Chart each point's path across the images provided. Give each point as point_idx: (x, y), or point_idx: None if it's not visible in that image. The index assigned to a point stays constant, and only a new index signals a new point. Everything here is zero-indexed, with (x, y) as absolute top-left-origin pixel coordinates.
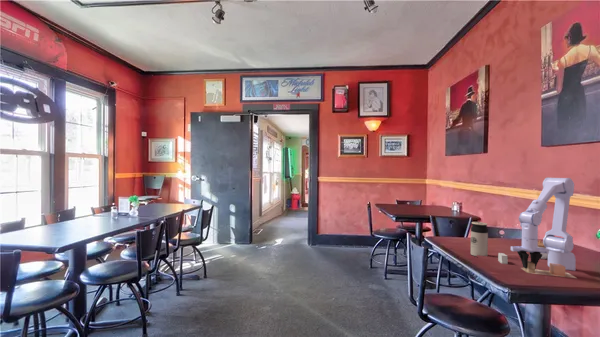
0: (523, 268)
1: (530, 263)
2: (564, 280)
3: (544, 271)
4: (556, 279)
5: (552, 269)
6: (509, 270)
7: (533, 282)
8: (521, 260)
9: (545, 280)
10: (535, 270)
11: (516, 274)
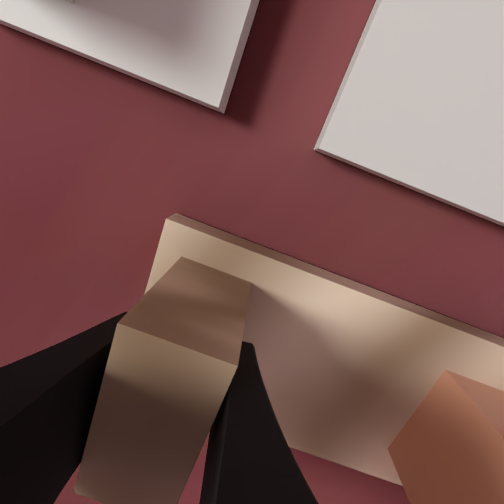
0: (188, 246)
1: (104, 499)
2: (390, 485)
3: (387, 357)
4: (336, 464)
5: (434, 474)
6: (22, 221)
7: (63, 498)
8: (28, 363)
9: (203, 475)
10: (294, 324)
11: (30, 344)
